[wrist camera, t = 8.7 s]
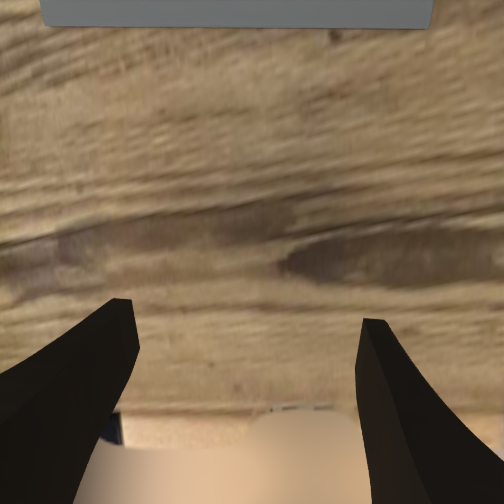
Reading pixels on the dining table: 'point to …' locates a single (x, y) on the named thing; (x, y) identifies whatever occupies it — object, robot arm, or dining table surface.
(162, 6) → the mat
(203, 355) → the dining table surface
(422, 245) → the dining table surface
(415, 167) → the dining table surface
